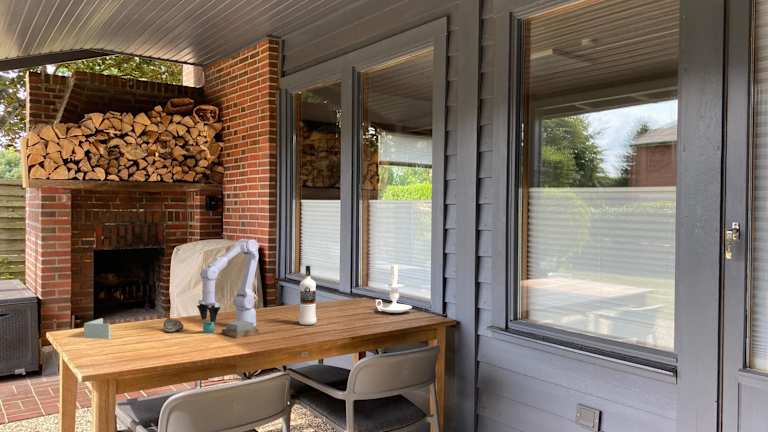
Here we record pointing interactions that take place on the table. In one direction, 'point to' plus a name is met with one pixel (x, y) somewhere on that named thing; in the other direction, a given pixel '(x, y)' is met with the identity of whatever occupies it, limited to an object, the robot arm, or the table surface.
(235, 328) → the gray top slab
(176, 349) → the table surface
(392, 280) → the candlestick
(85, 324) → the right angle wall
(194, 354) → the table surface
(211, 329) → the teal cylinder
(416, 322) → the table surface
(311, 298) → the vodka
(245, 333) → the walnut base slab
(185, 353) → the table surface
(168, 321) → the rock sample
